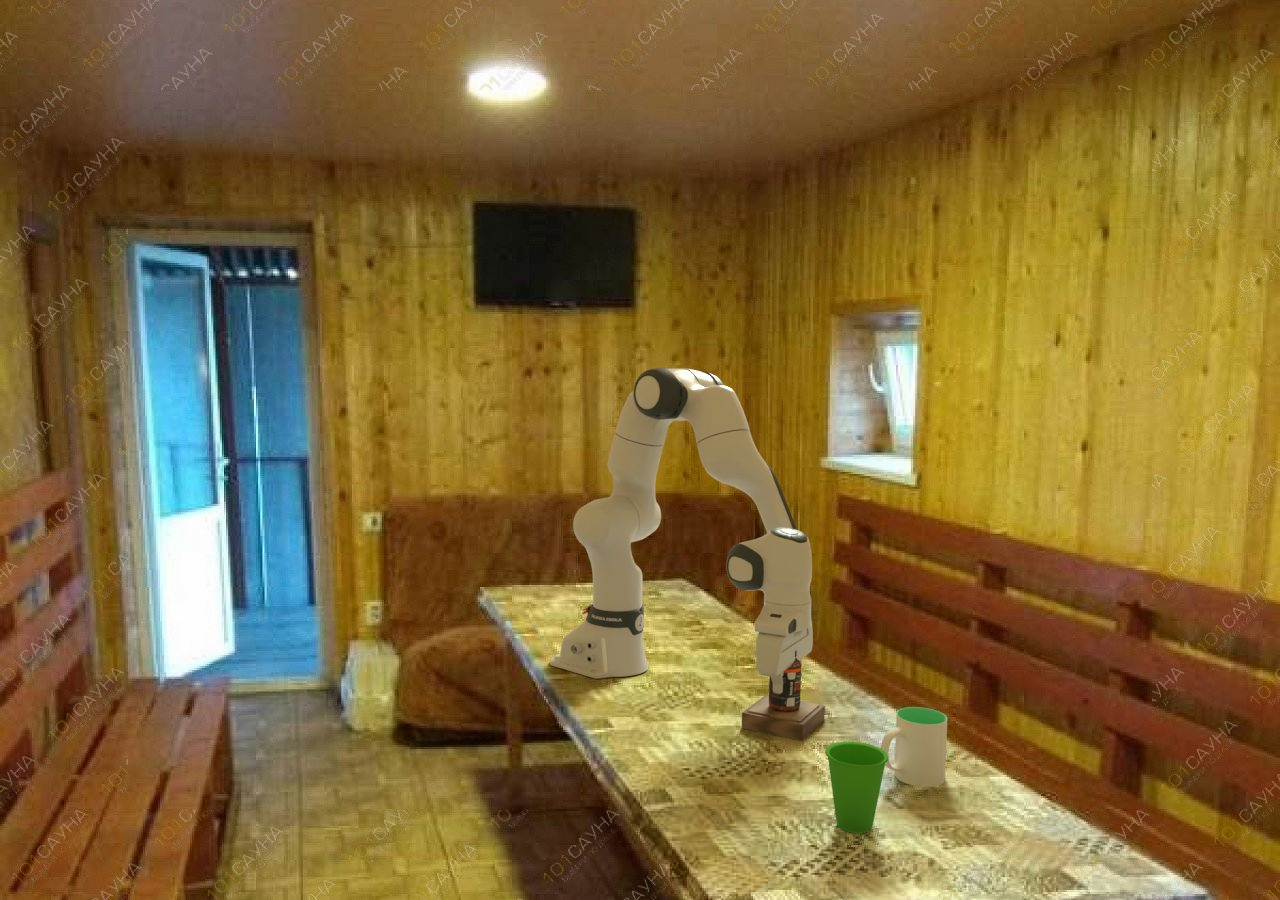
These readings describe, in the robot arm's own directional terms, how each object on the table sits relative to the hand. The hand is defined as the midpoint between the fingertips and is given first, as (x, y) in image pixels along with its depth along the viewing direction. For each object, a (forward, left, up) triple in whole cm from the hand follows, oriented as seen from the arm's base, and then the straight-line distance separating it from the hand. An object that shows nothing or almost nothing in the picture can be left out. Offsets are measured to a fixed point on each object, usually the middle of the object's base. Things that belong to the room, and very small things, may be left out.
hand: (785, 687), depth 180 cm
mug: (+27, -12, -8) cm, 30 cm away
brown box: (0, 0, -7) cm, 7 cm away
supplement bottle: (0, 0, -4) cm, 4 cm away
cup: (+24, -33, -8) cm, 41 cm away
